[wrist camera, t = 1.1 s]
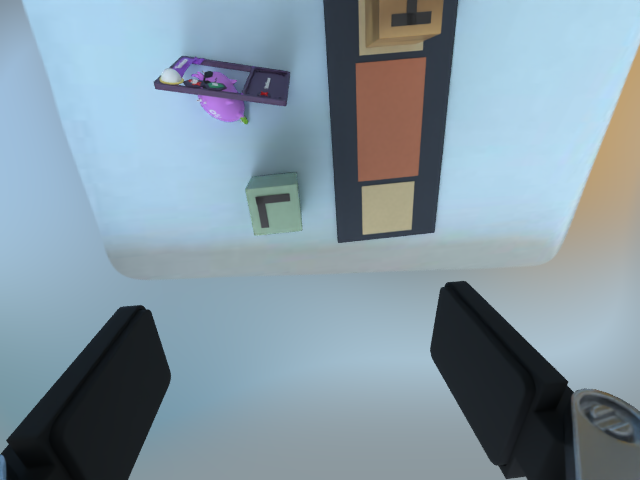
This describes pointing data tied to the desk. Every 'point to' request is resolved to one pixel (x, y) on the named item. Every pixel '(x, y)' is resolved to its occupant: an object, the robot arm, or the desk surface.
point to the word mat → (386, 124)
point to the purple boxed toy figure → (226, 87)
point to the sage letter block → (274, 203)
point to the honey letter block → (401, 21)
